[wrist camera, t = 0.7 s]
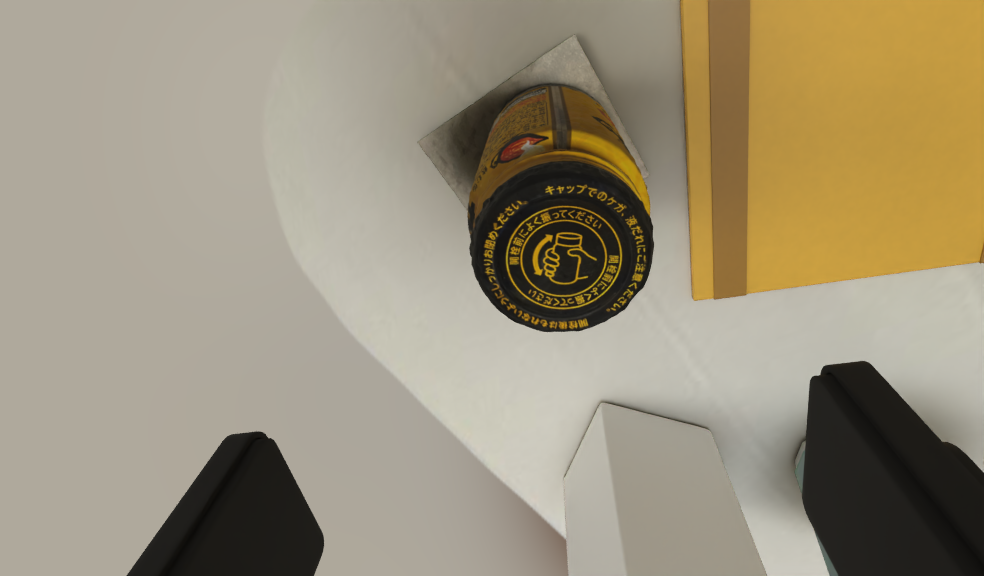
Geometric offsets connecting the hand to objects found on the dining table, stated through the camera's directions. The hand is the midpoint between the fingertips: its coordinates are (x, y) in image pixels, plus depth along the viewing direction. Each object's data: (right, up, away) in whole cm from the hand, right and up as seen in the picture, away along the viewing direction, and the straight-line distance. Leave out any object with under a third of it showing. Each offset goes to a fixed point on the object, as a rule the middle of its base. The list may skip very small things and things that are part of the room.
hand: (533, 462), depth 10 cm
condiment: (+1, +9, +17) cm, 19 cm away
